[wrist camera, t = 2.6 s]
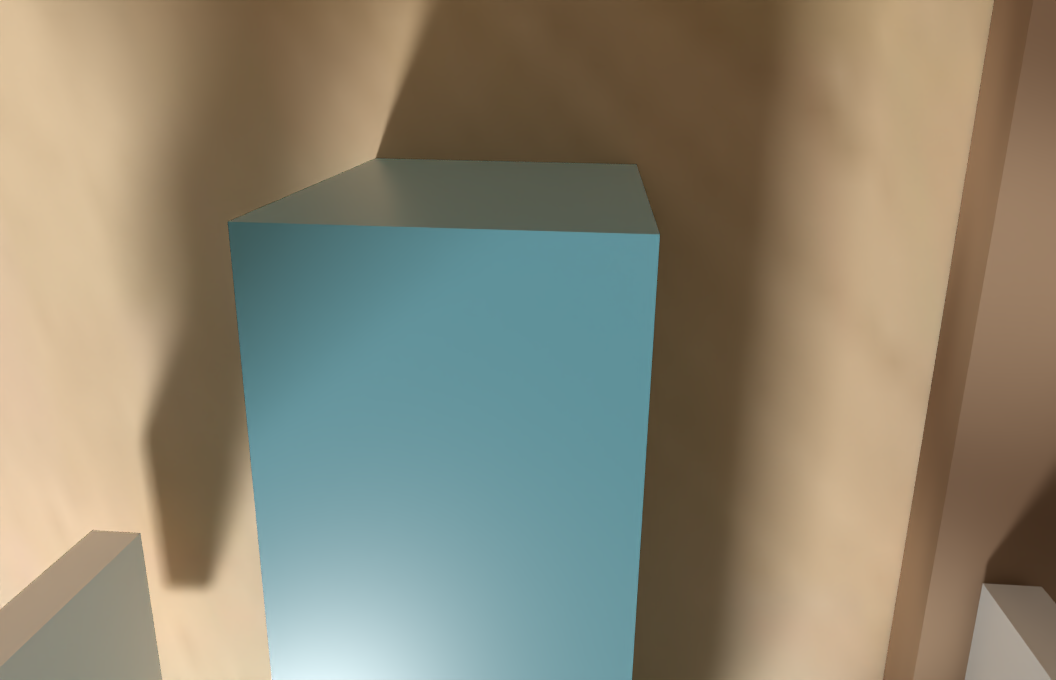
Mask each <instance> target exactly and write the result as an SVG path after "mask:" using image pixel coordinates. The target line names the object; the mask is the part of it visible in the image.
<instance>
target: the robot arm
mask: <svg viewBox="0 0 1056 680" xmlns="http://www.w3.org/2000/svg"><path fill="white" fill-rule="evenodd" d="M0 680H162V676H161V669H160V662H159V655H158V649H157V642H156V635H155V629H154V622H153V615H152V608H151V602H150V595H149V588H148V581H147V575H146V568H145V561H144V554H143V548H142V541H141V534H140V533H130V532H113V531H97V530H92V531H91V532H89V533H88V534H87V535H86V536H85V537H84V538H83V539H81V540H80V541H79V542H78V543H77V544H76V545H74V546H73V547H72V548H71V549H70V550H69V551H67V552H66V553H65V554H64V555H63V556H62V557H61V558H59V559H58V560H57V561H56V562H55V563H54V564H52V565H51V566H50V567H49V568H48V569H47V570H45V571H44V572H43V573H42V574H41V575H40V576H39V577H37V578H36V579H35V580H34V581H33V582H32V583H30V584H29V585H28V586H27V587H26V588H25V589H23V590H22V591H21V592H20V593H19V594H18V595H17V596H15V597H14V598H13V599H12V600H11V601H10V602H8V603H7V604H6V605H5V606H4V607H3V608H1V609H0ZM965 680H1056V603H1055V602H1054V601H1053V600H1052V598H1051V597H1050V596H1049V595H1048V594H1047V592H1046V591H1045V590H1044V589H1043V588H1042V587H1038V586H1021V585H1004V584H986V583H983V584H982V590H981V595H980V600H979V606H978V611H977V616H976V622H975V627H974V632H973V638H972V643H971V648H970V654H969V659H968V664H967V670H966V675H965Z"/></svg>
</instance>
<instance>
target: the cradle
mask: <svg viewBox="0 0 1056 680" xmlns="http://www.w3.org/2000/svg"><path fill="white" fill-rule="evenodd" d="M983 583H986V584H1004V585H1021V586H1038V587H1042V588H1043V589H1044V590H1045V591H1046V592H1047V594H1048V595H1049V596H1050V597H1051V598H1052V600H1053V601H1054V602H1055V603H1056V0H994V6H993V12H992V18H991V24H990V30H989V36H988V43H987V49H986V55H985V61H984V67H983V73H982V79H981V85H980V91H979V98H978V104H977V110H976V116H975V122H974V128H973V134H972V140H971V146H970V153H969V159H968V165H967V171H966V177H965V183H964V189H963V195H962V201H961V208H960V214H959V220H958V226H957V232H956V238H955V244H954V250H953V256H952V263H951V269H950V275H949V281H948V287H947V293H946V299H945V305H944V311H943V317H942V324H941V330H940V336H939V342H938V348H937V354H936V360H935V366H934V372H933V379H932V385H931V391H930V397H929V403H928V409H927V415H926V421H925V427H924V434H923V440H922V446H921V452H920V458H919V464H918V470H917V476H916V482H915V489H914V495H913V501H912V507H911V513H910V519H909V525H908V531H907V537H906V544H905V550H904V556H903V562H902V568H901V574H900V580H899V586H898V592H897V598H896V605H895V611H894V617H893V623H892V629H891V635H890V641H889V647H888V653H887V660H886V666H885V672H884V678H883V680H965V675H966V670H967V664H968V659H969V654H970V648H971V643H972V638H973V632H974V627H975V622H976V616H977V611H978V606H979V600H980V595H981V590H982V584H983Z"/></svg>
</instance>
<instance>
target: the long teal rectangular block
mask: <svg viewBox="0 0 1056 680" xmlns="http://www.w3.org/2000/svg"><path fill="white" fill-rule="evenodd" d="M228 230H229V240H230V251H231V261H232V271H233V282H234V292H235V302H236V313H237V323H238V334H239V344H240V354H241V365H242V375H243V386H244V396H245V406H246V417H247V427H248V437H249V448H250V458H251V469H252V479H253V489H254V500H255V510H256V521H257V531H258V541H259V552H260V562H261V573H262V583H263V593H264V604H265V614H266V624H267V635H268V645H269V656H270V666H271V676H272V680H632V670H633V655H634V639H635V623H636V607H637V591H638V575H639V559H640V543H641V528H642V512H643V496H644V480H645V464H646V448H647V432H648V416H649V400H650V385H651V369H652V353H653V337H654V321H655V305H656V289H657V273H658V258H659V242H660V233H659V230H658V227H657V224H656V221H655V218H654V215H653V212H652V209H651V206H650V203H649V200H648V197H647V194H646V191H645V188H644V185H643V182H642V179H641V176H640V173H639V170H638V167H637V164H601V163H559V162H516V161H473V160H430V159H387V158H375V159H373V160H370V161H368V162H366V163H363V164H361V165H359V166H356V167H354V168H352V169H349V170H347V171H345V172H342V173H340V174H338V175H335V176H333V177H331V178H328V179H326V180H324V181H321V182H319V183H317V184H314V185H312V186H310V187H307V188H305V189H303V190H301V191H298V192H296V193H294V194H291V195H289V196H287V197H284V198H282V199H280V200H277V201H275V202H273V203H270V204H268V205H266V206H263V207H261V208H259V209H256V210H254V211H252V212H249V213H247V214H245V215H242V216H240V217H238V218H235V219H233V220H231V221H228Z"/></svg>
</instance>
